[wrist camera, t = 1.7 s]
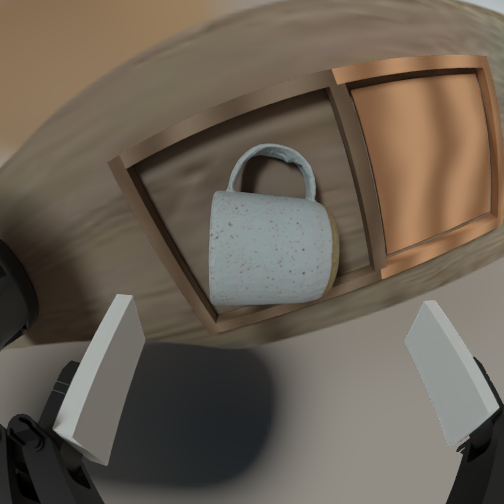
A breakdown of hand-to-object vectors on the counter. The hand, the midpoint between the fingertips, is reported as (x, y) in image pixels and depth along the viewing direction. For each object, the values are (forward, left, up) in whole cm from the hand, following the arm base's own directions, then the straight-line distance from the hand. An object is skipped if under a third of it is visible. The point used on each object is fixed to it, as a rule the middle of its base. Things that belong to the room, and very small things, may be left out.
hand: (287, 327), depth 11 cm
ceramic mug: (0, 0, -12) cm, 12 cm away
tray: (+7, +3, -12) cm, 14 cm away
